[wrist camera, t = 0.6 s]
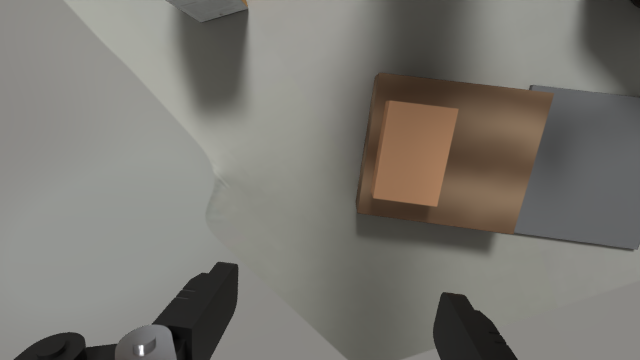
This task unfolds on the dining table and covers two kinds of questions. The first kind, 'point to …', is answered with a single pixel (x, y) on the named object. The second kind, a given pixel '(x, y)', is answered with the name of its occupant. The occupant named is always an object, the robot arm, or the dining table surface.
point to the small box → (209, 8)
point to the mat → (586, 171)
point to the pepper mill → (636, 3)
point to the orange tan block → (413, 152)
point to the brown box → (464, 151)
